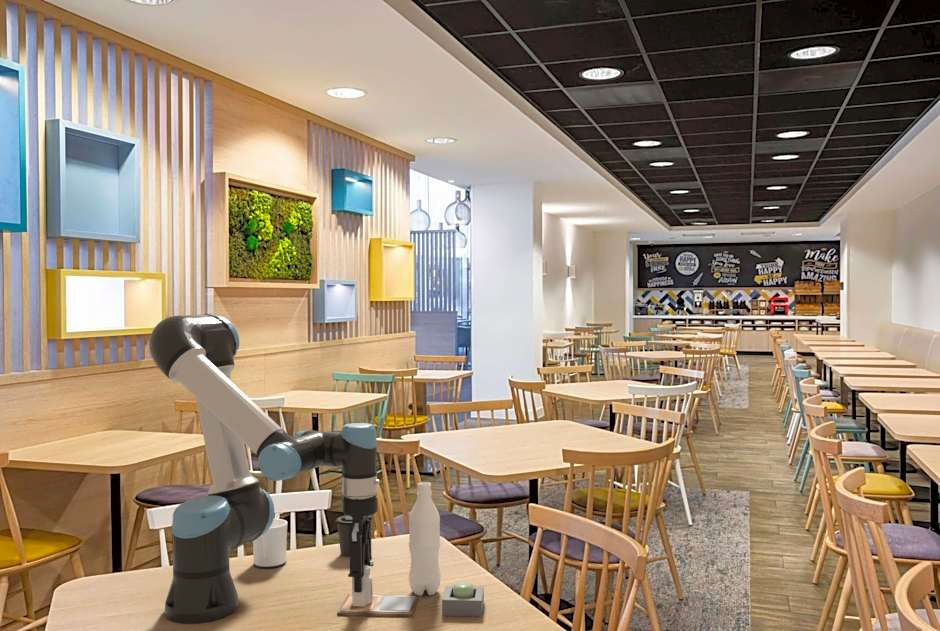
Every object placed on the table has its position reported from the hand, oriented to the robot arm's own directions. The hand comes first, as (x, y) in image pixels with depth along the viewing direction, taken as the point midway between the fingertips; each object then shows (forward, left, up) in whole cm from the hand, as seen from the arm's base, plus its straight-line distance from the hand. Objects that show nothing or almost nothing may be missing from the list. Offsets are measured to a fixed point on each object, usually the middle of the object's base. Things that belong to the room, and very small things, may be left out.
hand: (361, 601), depth 179 cm
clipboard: (+4, 0, -1) cm, 4 cm away
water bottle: (+13, +9, -1) cm, 16 cm away
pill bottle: (0, 0, 0) cm, 1 cm away
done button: (+22, 0, +1) cm, 22 cm away
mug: (-29, +26, -1) cm, 39 cm away
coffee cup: (-10, +36, -1) cm, 37 cm away
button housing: (+22, 0, -1) cm, 22 cm away
